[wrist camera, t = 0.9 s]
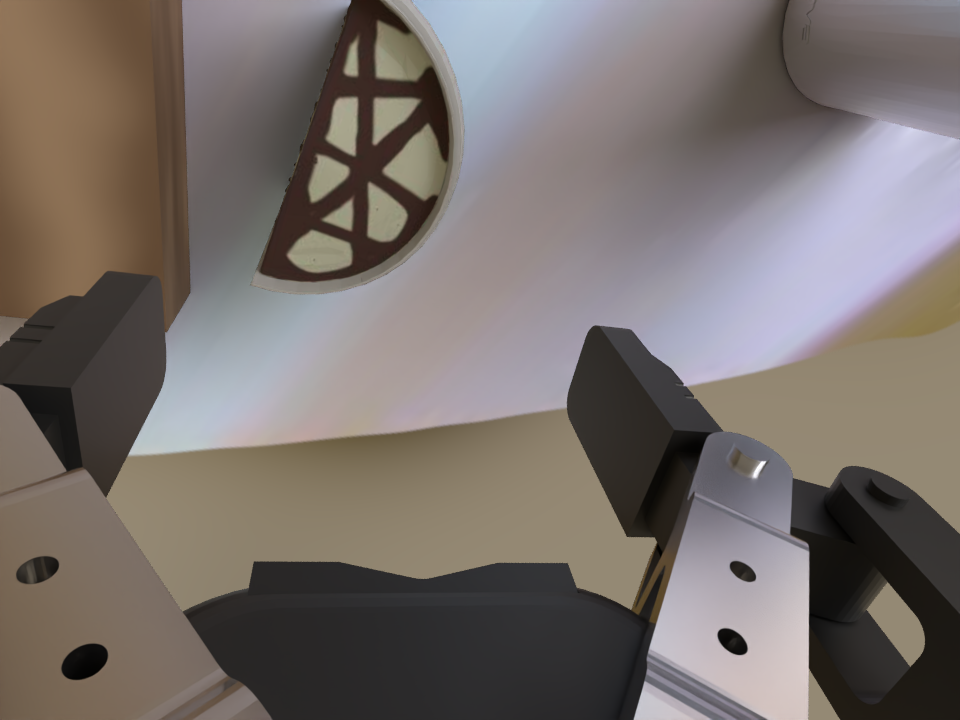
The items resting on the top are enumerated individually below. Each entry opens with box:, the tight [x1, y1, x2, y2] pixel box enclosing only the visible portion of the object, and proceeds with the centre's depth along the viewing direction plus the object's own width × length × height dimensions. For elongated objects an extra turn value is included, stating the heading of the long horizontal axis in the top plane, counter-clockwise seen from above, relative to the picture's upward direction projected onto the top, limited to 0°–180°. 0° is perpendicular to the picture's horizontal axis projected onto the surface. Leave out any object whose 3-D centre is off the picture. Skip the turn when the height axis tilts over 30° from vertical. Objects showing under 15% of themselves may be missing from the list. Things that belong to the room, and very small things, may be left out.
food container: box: [251, 0, 464, 294], centre depth 26 cm, size 12×6×10 cm, turn 154°
